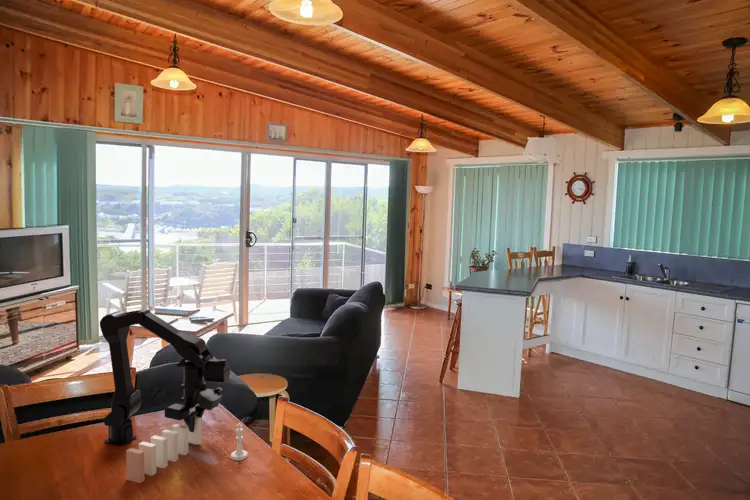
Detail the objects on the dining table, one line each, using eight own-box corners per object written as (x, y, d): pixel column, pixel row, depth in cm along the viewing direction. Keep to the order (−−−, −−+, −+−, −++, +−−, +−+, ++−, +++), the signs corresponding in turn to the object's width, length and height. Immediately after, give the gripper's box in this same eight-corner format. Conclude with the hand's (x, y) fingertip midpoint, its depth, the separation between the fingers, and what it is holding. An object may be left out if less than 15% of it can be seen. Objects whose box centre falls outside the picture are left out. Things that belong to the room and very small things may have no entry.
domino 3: (150, 465, 146) (150, 437, 145) (155, 462, 147) (154, 435, 146) (163, 468, 144) (163, 440, 143) (167, 465, 146) (167, 438, 145)
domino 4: (161, 458, 150) (161, 431, 149) (165, 456, 151) (165, 429, 150) (174, 461, 148) (174, 434, 147) (178, 459, 149) (178, 432, 149)
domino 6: (185, 442, 159) (185, 416, 158) (189, 439, 161) (189, 414, 160) (197, 444, 158) (197, 419, 157) (201, 442, 159) (201, 417, 158)
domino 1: (126, 479, 138) (126, 450, 137) (131, 476, 139) (131, 447, 139) (139, 483, 136) (139, 453, 136) (144, 480, 138) (144, 451, 137)
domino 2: (139, 472, 142) (138, 443, 141) (143, 469, 143) (143, 441, 143) (152, 475, 140) (151, 447, 139) (156, 472, 142) (156, 444, 141)
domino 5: (172, 452, 153) (172, 425, 153) (176, 449, 155) (176, 423, 154) (184, 455, 152) (184, 428, 151) (188, 452, 153) (188, 426, 153)
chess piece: (243, 461, 149) (243, 427, 148) (227, 459, 150) (227, 425, 149) (250, 453, 154) (251, 420, 153) (235, 451, 155) (235, 418, 154)
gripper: (194, 394, 146) (194, 448, 147) (235, 375, 163) (234, 423, 165) (163, 388, 150) (163, 441, 151) (205, 370, 167) (205, 417, 168)
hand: (194, 430), depth 159 cm, fingers closed on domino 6, 2 cm apart
